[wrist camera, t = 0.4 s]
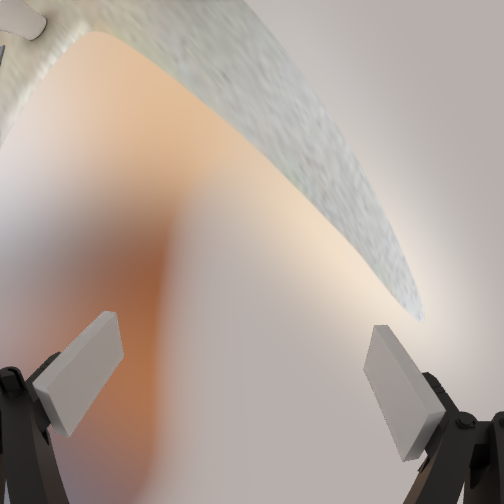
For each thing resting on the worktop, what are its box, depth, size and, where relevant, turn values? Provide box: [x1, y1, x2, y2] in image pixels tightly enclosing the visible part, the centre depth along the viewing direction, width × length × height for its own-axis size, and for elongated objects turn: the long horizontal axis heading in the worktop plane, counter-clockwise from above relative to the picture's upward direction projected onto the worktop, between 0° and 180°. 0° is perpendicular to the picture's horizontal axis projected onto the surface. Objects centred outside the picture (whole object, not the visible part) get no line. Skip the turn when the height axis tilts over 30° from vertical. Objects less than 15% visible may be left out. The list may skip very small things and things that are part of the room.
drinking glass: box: [0, 0, 46, 40], centre depth 26 cm, size 7×7×15 cm
